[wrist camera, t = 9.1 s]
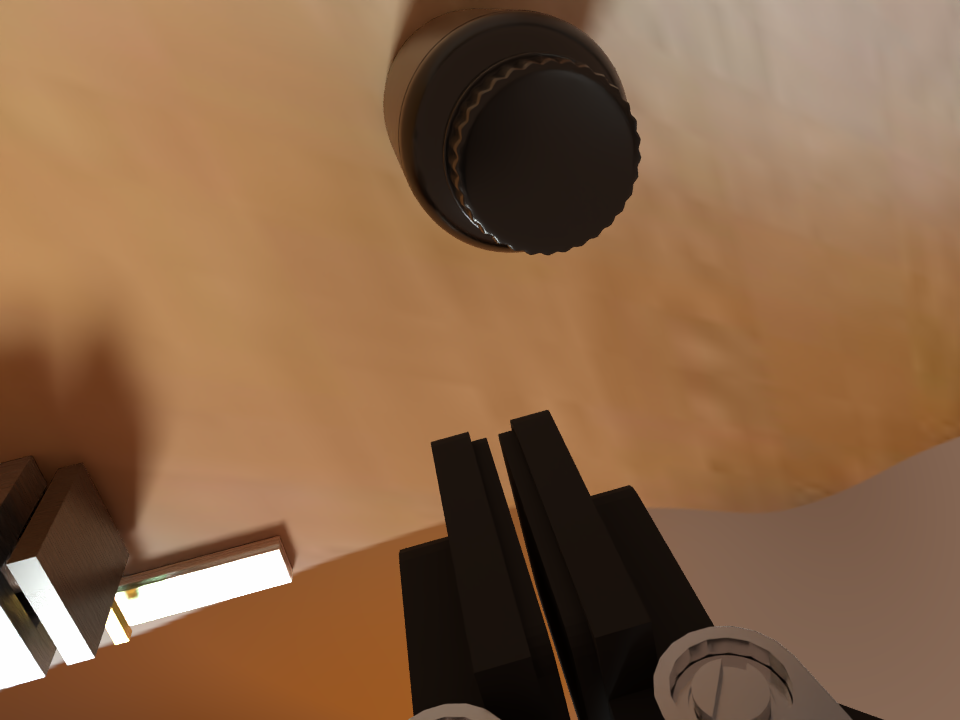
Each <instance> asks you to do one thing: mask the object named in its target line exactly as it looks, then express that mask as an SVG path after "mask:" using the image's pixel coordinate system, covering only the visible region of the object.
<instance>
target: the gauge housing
mask: <svg viewBox="0 0 960 720" xmlns="http://www.w3.org/2000/svg"><path fill="white" fill-rule="evenodd" d="M46 486H47V483H46V481H45V479H44V478H43V476H42V474H41V472H40V470H39V468H38V466H37V465H36V463H35V461H34V459H33V457H32V456H29V457H25V458H21V459H17V460H13V461H9V462H5V463H1V464H0V569H1V567H2V566H3V564H4V562H5V560H6V558H7V557H8V555H9V553H10V551H11V549H12V547H13V546H14V544H15V542H16V540H17V538H18V537H19V535H20V533H21V531H22V529H23V528H24V526H25V524H26V522H27V520H28V518H29V517H30V515H31V513H32V511H33V509H34V508H35V506H36V504H37V502H38V500H39V498H40V497H41V495H42V493H43V491H44V489H45V488H46ZM292 572H293V571H292V568H291V565H290V563H289V560H288V558H287V555H286V552H285V550H284V547H283V545H282V542H281V539H280V537H279V536H276V537H272V538H269V539H265V540H261V541H257V542H254V543H250V544H246V545H242V546H239V547H235V548H231V549H227V550H224V551H220V552H216V553H213V554H209V555H205V556H201V557H198V558H194V559H190V560H186V561H183V562H179V563H175V564H171V565H168V566H164V567H160V568H156V569H153V570H149V571H145V572H142V573H138V574H134V575H130V576H127V577H123V578H121V581H120V584H119V587H118V590H117V593H116V596H115V600H116V602H117V604H118V606H119V608H120V610H121V611H122V613H123V615H124V617H125V619H126V621H127V623H128V624H129V626H132V625H135V624H139V623H143V622H146V621H150V620H154V619H157V618H161V617H164V616H168V615H172V614H175V613H179V612H183V611H186V610H190V609H194V608H197V607H201V606H205V605H208V604H212V603H216V602H219V601H223V600H227V599H230V598H234V597H237V596H241V595H245V594H249V593H252V592H256V591H260V590H263V589H267V588H270V587H274V586H278V585H281V584H285V583H289V582H291V581H292ZM56 649H57V647H56V645H55V644H54V642H53V641H52V639H51V637H50V636H49V634H48V632H47V631H46V629H45V627H44V626H43V624H42V622H41V621H40V619H39V618H38V616H37V614H36V613H35V611H34V609H33V608H32V606H31V604H30V603H29V601H28V599H27V598H26V596H25V594H24V593H23V592H20V593H16V594H15V593H14V592H13V590H12V588H11V587H10V585H9V584H8V582H7V580H6V579H5V577H4V575H3V574H2V572H1V571H0V689H3V688H6V687H10V686H13V685H17V684H21V683H24V682H28V681H32V680H35V679H39V678H42V677H45V676H46V674H47V671H48V669H49V666H50V664H51V661H52V659H53V656H54V654H55V651H56Z"/></svg>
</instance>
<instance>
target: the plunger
mask: <svg viewBox="0 0 960 720" xmlns="http://www.w3.org/2000/svg"><path fill="white" fill-rule="evenodd" d="M128 557H129V553H128V551H127V549H126V547H125V545H124V543H123V541H122V539H121V537H120V535H119V533H118V531H117V529H116V527H115V525H114V523H113V521H112V519H111V517H110V515H109V513H108V511H107V509H106V507H105V505H104V503H103V501H102V500H101V498H100V496H99V494H98V492H97V490H96V488H95V486H94V484H93V482H92V480H91V478H90V476H89V474H88V472H87V470H86V468H85V466H84V464H83V463H80V464H76V465H72V466H68V467H64V468H60V469H58V471H57V472H56V474H55V476H54V478H53V480H52V482H51V483H50V485H49V487H48V489H47V491H46V493H45V494H44V496H43V498H42V500H41V502H40V504H39V505H38V507H37V509H36V511H35V513H34V515H33V516H32V518H31V520H30V522H29V524H28V526H27V527H26V529H25V531H24V533H23V535H22V537H21V538H20V540H18V541H16V542H15V544H14V546H13V547H12V549H11V551H10V553H9V555H8V557H7V558H6V560H5V562H4V564H3V566H2V567H1V569H0V571H1V572H2V574H3V575H4V577H5V579H6V580H7V582H8V584H9V585H10V587H11V588H12V590H13V592H14V593H15V594H16V593H20V592H23V593H24V594H25V596H26V598H27V599H28V601H29V603H30V604H31V606H32V608H33V609H34V611H35V613H36V614H37V616H38V618H39V619H40V621H41V622H42V624H43V626H44V627H45V629H46V631H47V632H48V634H49V636H50V637H51V639H52V641H53V642H54V644H55V645H56V647H57V649H58V650H59V652H60V654H61V655H62V657H63V659H64V660H65V662H66V664H67V665H71V664H74V663H78V662H81V661H85V660H89V659H92V658H95V655H96V652H97V649H98V646H99V644H100V641H101V638H102V635H103V632H104V629H105V627H106V629H107V630H108V632H109V634H110V636H111V638H112V639H113V641H114V643H115V645H117V644H120V643H124V642H128V641H129V640H130V637H131V633H132V630H131V628H130V626H129V624H128V623H127V621H126V619H125V617H124V615H123V613H122V611H121V610H120V608H119V606H118V604H117V602H116V600H115V596H116V593H117V590H118V587H119V584H120V581H121V578H122V575H123V572H124V569H125V566H126V563H127V560H128Z"/></svg>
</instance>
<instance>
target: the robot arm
mask: <svg viewBox="0 0 960 720" xmlns="http://www.w3.org/2000/svg"><path fill="white" fill-rule="evenodd" d="M510 423H511V428H512V431H508V432H505V433H501V434H498V436H499V441H500V445H501V449H502V453H503V457H504V461H505V465H506V469H507V473H508V477H509V481H510V485H511V489H512V493H513V497H514V501H515V505H516V509H517V513H518V517H519V520H520V525H521V528H522V533H523V537H524V540H525V545H526V549H527V552H528V556H529V560H530V564H531V568H532V572H533V576H534V580H535V584H536V588H537V591H538V595H539V598H540V601H541V604H542V607H543V611H544V614H545V617H546V620H547V623H548V626H549V629H550V633H551V636H552V639H553V642H554V645H555V648H556V651H557V655H558V658H559V661H560V664H561V667H562V670H563V673H564V677H565V679H566V683H567V686H568V689H569V692H570V695H571V698H572V702H573V705H574V708H575V711H576V714H577V717H578V720H883V719H880V718H877V717H874V716H871V715H869V714H866V713H863V712H861V711H858V710H855V709H852V708H849V707H847V706H844V705H841V704H838V703H837V702H836V701H835V700H834V699H833V698H832V697H831V696H830V694H829V693H828V692H827V691H826V690H825V689H824V688H823V687H822V686H821V685H820V683H819V682H818V681H817V680H816V679H815V678H814V677H813V676H812V675H811V673H810V672H809V671H808V670H807V669H806V668H805V667H804V666H803V665H802V664H801V662H800V661H799V660H798V659H797V658H796V657H795V656H794V655H793V654H792V653H791V652H789V651H788V650H787V649H786V648H784V647H783V646H782V645H781V644H780V643H778V642H777V641H775V640H774V639H771V638H769V637H767V636H765V635H763V634H761V633H758V632H756V631H753V630H749V629H744V628H739V627H734V626H722V627H714V625H713V623H712V621H711V620H710V618H709V616H708V615H707V613H706V611H705V609H704V608H703V606H702V604H701V602H700V601H699V599H698V597H697V596H696V594H695V592H694V590H693V589H692V587H691V585H690V584H689V582H688V580H687V579H686V577H685V575H684V573H683V571H682V570H681V568H680V566H679V565H678V563H677V561H676V560H675V558H674V556H673V554H672V553H671V551H670V549H669V547H668V546H667V544H666V543H665V541H664V539H663V537H662V535H661V534H660V532H659V530H658V528H657V527H656V525H655V523H654V522H653V520H652V518H651V516H650V515H649V513H648V511H647V510H646V508H645V506H644V504H643V503H642V501H641V499H640V497H639V496H638V494H637V493H636V491H635V490H634V488H633V487H631V486H630V485H628V486H625V487H621V488H618V489H614V490H611V491H607V492H604V493H600V494H596V495H593V496H590V494H589V492H588V490H587V488H586V486H585V484H584V482H583V480H582V478H581V476H580V473H579V471H578V469H577V467H576V465H575V463H574V461H573V459H572V457H571V455H570V453H569V451H568V449H567V447H566V445H565V443H564V440H563V438H562V436H561V434H560V432H559V430H558V428H557V426H556V424H555V422H554V420H553V418H552V416H551V414H550V412H549V410H545V411H542V412H538V413H534V414H531V415H527V416H524V417H520V418H516V419H513V420H510ZM431 447H432V452H433V458H434V463H435V468H436V474H437V479H438V484H439V490H440V495H441V500H442V506H443V511H444V516H445V522H446V527H447V532H448V537H445V538H441V539H437V540H434V541H430V542H427V543H423V544H420V545H416V546H413V547H409V548H405V549H402V550H400V552H399V564H400V574H401V585H402V596H403V605H404V606H403V607H404V617H405V628H406V639H407V650H408V660H409V671H410V682H411V693H412V703H413V714H414V717H412V718H410V719H409V720H570V716H569V712H568V708H567V704H566V700H565V696H564V692H563V688H562V684H561V680H560V676H559V672H558V669H557V664H556V661H555V657H554V653H553V650H552V646H551V643H550V640H549V636H548V632H547V629H546V626H545V623H544V620H543V616H542V613H541V610H540V607H539V604H538V601H537V598H536V594H535V591H534V588H533V585H532V581H531V578H530V575H529V572H528V569H527V565H526V563H525V559H524V556H523V553H522V550H521V546H520V543H519V540H518V537H517V534H516V531H515V527H514V524H513V521H512V518H511V515H510V511H509V508H508V505H507V502H506V499H505V496H504V492H503V489H502V486H501V483H500V480H499V476H498V473H497V470H496V467H495V464H494V461H493V457H492V454H491V451H490V448H489V445H488V441H487V438H483V439H480V440H476V441H472V442H471V439H470V435H469V432H466V433H462V434H459V435H455V436H451V437H448V438H444V439H440V440H437V441H433V442H431Z"/></svg>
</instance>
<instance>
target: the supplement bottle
mask: <svg viewBox="0 0 960 720" xmlns="http://www.w3.org/2000/svg"><path fill="white" fill-rule="evenodd" d="M383 107H384V119H385V125H386V129H387V133H388V136H389V139H390V142H391V145H392V147H393V150H394V152H395V154H396V156H397V159H398V161H399V163H400V166H401V168H402V170H403V173H404V175H405V177H406V179H407V182H408V184H409V186H410V188H411V190H412V192H413V194H414V196H415V197H416V199H417V200H418V202H419V203H420V205H421V206H422V208H423V209H424V210H425V211H426V213H427V214H428V215H429V216H430V217H431V218H432V219H433V220H434V221H435V222H436V223H437V224H438V225H439V226H440V227H441V228H442V229H444V230H445V231H446V232H447V233H449V234H451V235H452V236H454V237H455V238H457V239H459V240H461V241H463V242H465V243H467V244H469V245H472V246H475V247H478V248H481V249H485V250H489V251H495V252H506V253H513V252H526V253H527V254H529V255H534V254H537V253H542V254H544V255H550V254H553V253H555V252H567V251H568V250H570V249H571V248H572V247H579V246H582V245H584V244H585V243H586V242H587V241H588V240H589V239H591V238H595V237H598V235H599V234H600V233H601V231H602V230H603V229H604V228H606V227H608V226H610V225H611V224H612V222H613V221H614V218H615V216H616V215H618V214H619V213H621V212H622V211H623V209H624V206H625V202H626V200H627V199H628V198H629V197H630V196H631V195H632V191H633V184H634V182H635V181H636V179H637V178H638V168H637V167H638V164H639V162H640V160H641V155H640V152H639V145H640V140H641V139H640V137H639V135H638V133H637V131H636V130H637V121H636V119H635V118H634V117H633V116H632V115H631V112H630V105H629V103H628V102H627V99H626V95H625V91H624V88H623V85H622V83H621V80H620V78H619V76H618V74H617V72H616V70H615V68H614V66H613V64H612V63H611V61H610V60H609V58H608V57H607V55H606V54H605V53H604V51H603V50H602V49H601V48H600V47H599V46H598V45H597V44H596V43H595V42H594V40H593V39H591V38H590V37H589V36H588V35H587V34H585V33H584V32H583V31H581V30H580V29H578V28H577V27H575V26H574V25H572V24H570V23H568V22H566V21H564V20H561V19H559V18H556V17H553V16H551V15H547V14H543V13H539V12H534V11H527V10H504V9H465V10H458V11H453V12H450V13H447V14H444V15H441V16H439V17H437V18H435V19H433V20H431V21H429V22H428V23H426V24H425V25H423V26H422V27H420V28H419V29H418V30H417V31H416V32H415V33H414V34H412V35H411V37H410V38H409V39H408V40H407V41H406V42H405V43H404V45H403V46H402V47H401V49H400V50H399V52H398V54H397V55H396V57H395V59H394V61H393V63H392V65H391V68H390V70H389V73H388V77H387V80H386V84H385V90H384V101H383Z"/></svg>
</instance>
